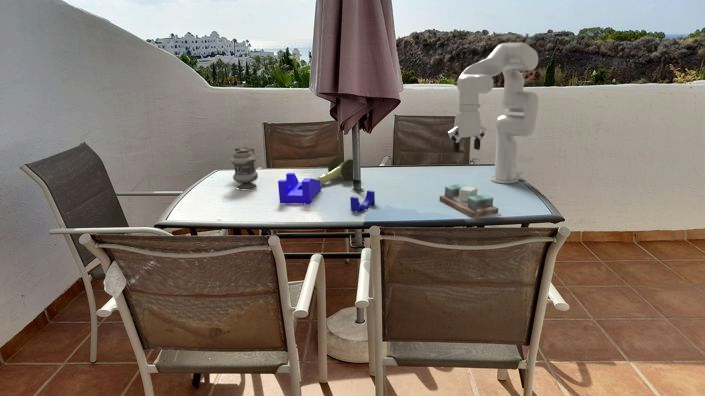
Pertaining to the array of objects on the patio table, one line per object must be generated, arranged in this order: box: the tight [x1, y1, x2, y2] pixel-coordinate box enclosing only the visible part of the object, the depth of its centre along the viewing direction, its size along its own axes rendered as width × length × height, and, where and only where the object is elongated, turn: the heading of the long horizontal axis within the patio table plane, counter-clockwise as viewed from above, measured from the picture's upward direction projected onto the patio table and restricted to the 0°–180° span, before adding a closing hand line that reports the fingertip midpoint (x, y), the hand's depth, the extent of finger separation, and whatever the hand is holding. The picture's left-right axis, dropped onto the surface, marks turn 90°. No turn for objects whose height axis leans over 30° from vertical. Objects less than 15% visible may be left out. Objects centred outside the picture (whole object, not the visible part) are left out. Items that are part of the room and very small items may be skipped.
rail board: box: [439, 183, 499, 219], centre depth 191 cm, size 12×24×6 cm, turn 21°
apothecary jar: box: [230, 150, 259, 190], centre depth 228 cm, size 12×12×18 cm
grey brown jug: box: [234, 146, 257, 172], centre depth 245 cm, size 9×6×16 cm
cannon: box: [314, 155, 354, 186], centre depth 234 cm, size 25×12×11 cm, turn 132°
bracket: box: [277, 172, 322, 205], centre depth 211 cm, size 21×14×10 cm, turn 171°
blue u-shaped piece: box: [349, 189, 376, 213], centre depth 194 cm, size 12×4×6 cm, turn 138°
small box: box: [459, 185, 478, 202], centre depth 190 cm, size 6×6×5 cm
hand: (466, 150), depth 190 cm, fingers open, 9 cm apart
